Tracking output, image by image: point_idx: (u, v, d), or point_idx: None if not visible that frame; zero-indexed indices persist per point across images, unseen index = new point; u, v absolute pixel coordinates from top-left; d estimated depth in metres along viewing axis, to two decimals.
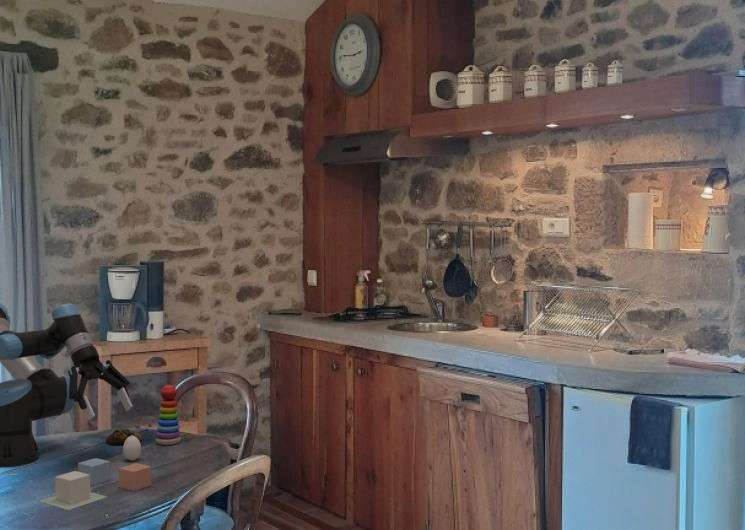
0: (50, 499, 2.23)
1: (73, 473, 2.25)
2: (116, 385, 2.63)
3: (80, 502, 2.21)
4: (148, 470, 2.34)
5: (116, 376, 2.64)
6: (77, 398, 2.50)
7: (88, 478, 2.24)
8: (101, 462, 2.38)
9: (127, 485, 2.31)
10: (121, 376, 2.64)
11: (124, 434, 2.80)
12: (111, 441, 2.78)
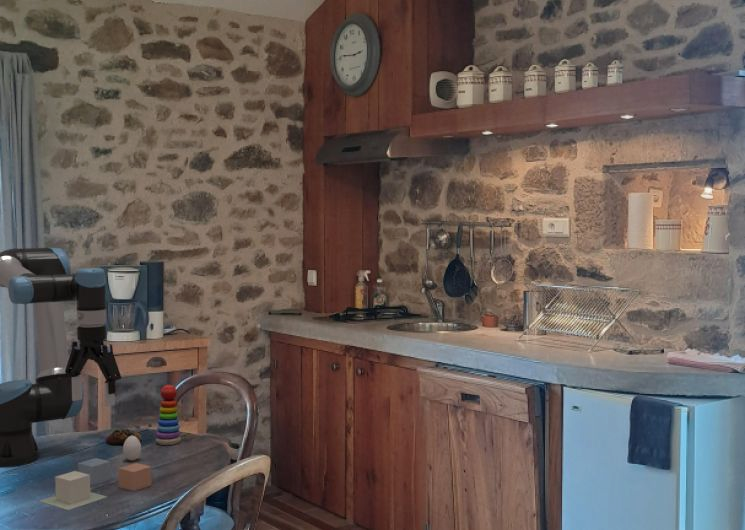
0: (50, 499, 2.23)
1: (73, 473, 2.25)
2: None
3: (80, 502, 2.21)
4: (148, 470, 2.34)
5: None
6: None
7: (88, 478, 2.24)
8: (101, 462, 2.38)
9: (127, 485, 2.31)
10: (109, 369, 2.31)
11: (124, 434, 2.80)
12: (111, 441, 2.78)
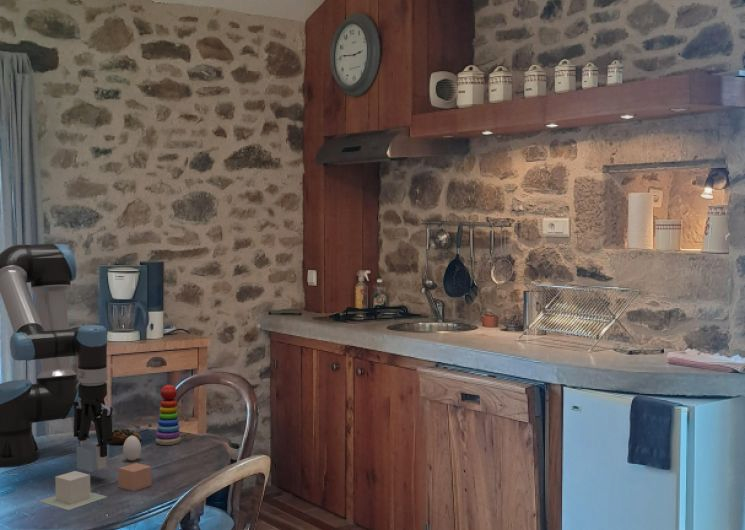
0: (50, 499, 2.23)
1: (73, 473, 2.25)
2: None
3: (80, 502, 2.21)
4: (148, 470, 2.34)
5: None
6: None
7: (88, 478, 2.24)
8: None
9: (127, 485, 2.31)
10: (103, 432, 2.34)
11: (124, 434, 2.80)
12: None
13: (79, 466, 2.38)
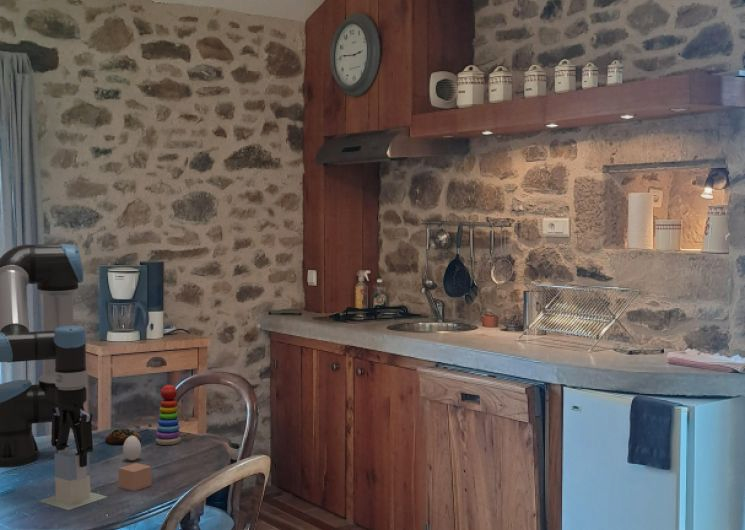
0: (50, 499, 2.23)
1: None
2: None
3: (80, 502, 2.21)
4: (148, 470, 2.34)
5: None
6: None
7: (88, 478, 2.24)
8: None
9: (127, 485, 2.31)
10: (82, 440, 2.18)
11: (123, 434, 2.80)
12: (110, 441, 2.78)
13: (57, 474, 2.22)
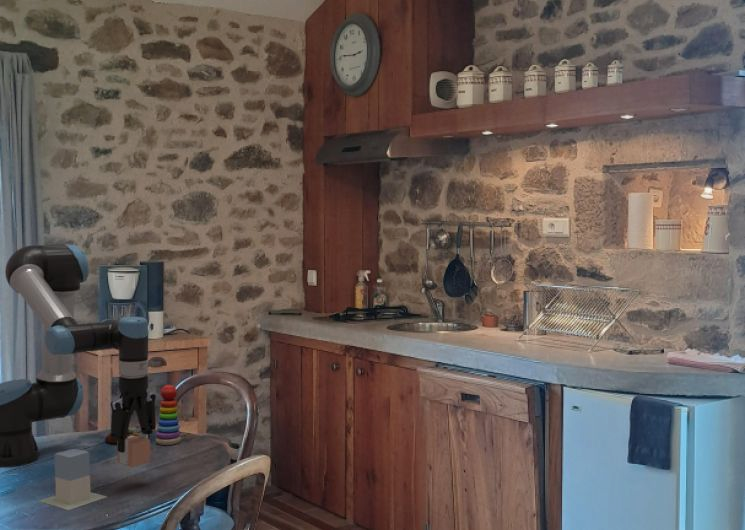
0: (50, 499, 2.23)
1: None
2: (142, 426, 2.36)
3: (80, 502, 2.21)
4: (147, 443, 2.34)
5: (149, 414, 2.37)
6: (118, 440, 2.29)
7: (88, 478, 2.24)
8: (79, 453, 2.23)
9: None
10: (153, 418, 2.37)
11: None
12: (110, 440, 2.79)
13: (57, 474, 2.22)
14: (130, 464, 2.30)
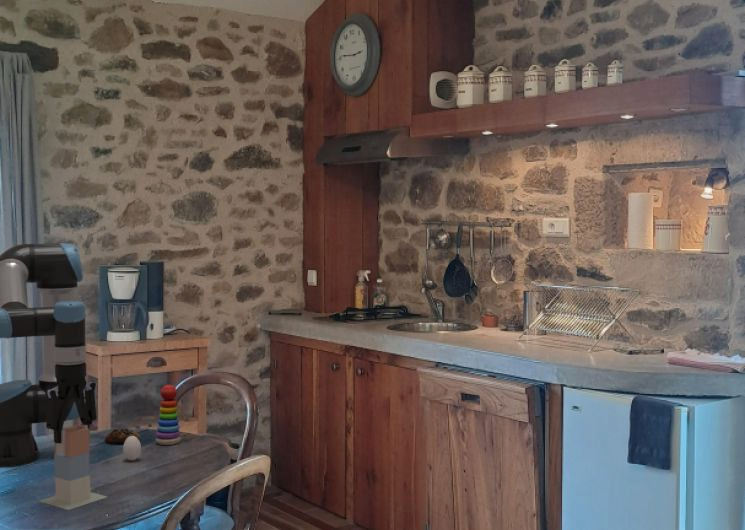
0: (50, 499, 2.23)
1: None
2: (82, 416, 2.25)
3: (80, 502, 2.21)
4: (86, 432, 2.22)
5: (89, 404, 2.26)
6: (54, 430, 2.18)
7: (88, 478, 2.24)
8: None
9: None
10: (93, 408, 2.26)
11: (123, 433, 2.81)
12: (110, 440, 2.79)
13: (57, 475, 2.22)
14: (67, 454, 2.19)
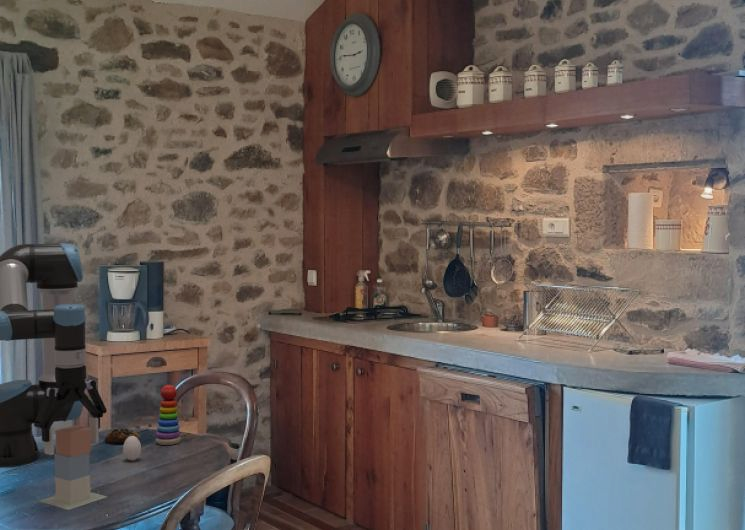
0: (50, 499, 2.23)
1: None
2: (91, 411, 2.27)
3: (80, 502, 2.21)
4: (87, 432, 2.23)
5: (95, 400, 2.28)
6: (42, 428, 2.15)
7: (88, 478, 2.24)
8: None
9: (64, 447, 2.20)
10: (100, 402, 2.28)
11: (123, 433, 2.81)
12: (110, 440, 2.79)
13: (57, 474, 2.22)
14: (69, 454, 2.19)
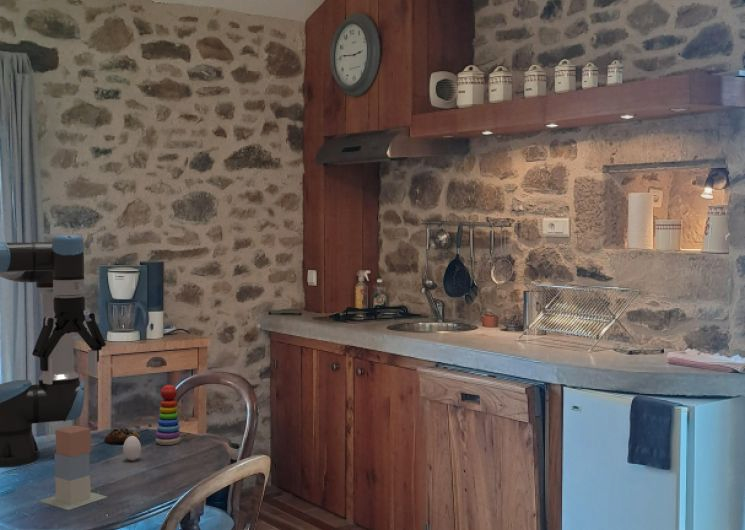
0: (50, 499, 2.23)
1: None
2: (90, 344, 2.26)
3: (80, 502, 2.21)
4: (87, 432, 2.23)
5: (94, 333, 2.27)
6: (41, 357, 2.14)
7: (88, 478, 2.24)
8: None
9: (64, 447, 2.20)
10: (99, 335, 2.27)
11: (122, 433, 2.81)
12: (109, 440, 2.79)
13: (58, 474, 2.22)
14: (69, 454, 2.19)
